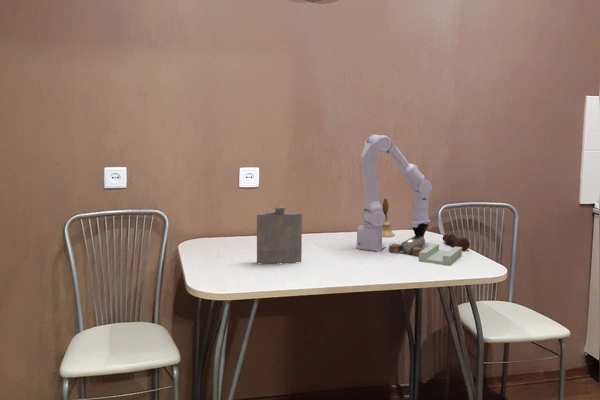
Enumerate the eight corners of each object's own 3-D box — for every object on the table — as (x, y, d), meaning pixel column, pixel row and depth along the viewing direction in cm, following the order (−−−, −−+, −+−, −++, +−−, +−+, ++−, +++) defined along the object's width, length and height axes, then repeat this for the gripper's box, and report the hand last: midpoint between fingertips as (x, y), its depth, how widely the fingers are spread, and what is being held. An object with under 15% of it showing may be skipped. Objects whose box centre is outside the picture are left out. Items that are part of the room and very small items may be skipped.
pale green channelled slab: (418, 260, 206) (419, 252, 205) (432, 251, 220) (432, 243, 219) (449, 265, 200) (450, 256, 200) (461, 255, 214) (462, 247, 213)
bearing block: (388, 252, 218) (389, 245, 218) (392, 250, 221) (392, 243, 221) (421, 256, 212) (421, 250, 211) (424, 254, 215) (425, 248, 215)
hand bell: (389, 238, 242) (391, 200, 239) (371, 235, 246) (373, 199, 243) (397, 234, 249) (398, 198, 246) (379, 232, 253) (381, 196, 250)
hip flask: (300, 260, 205) (301, 205, 202) (302, 263, 201) (303, 207, 198) (256, 262, 202) (256, 206, 199) (257, 265, 198) (257, 208, 195)
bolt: (447, 246, 236) (464, 254, 221) (437, 241, 235) (454, 248, 220) (454, 234, 236) (472, 241, 221) (444, 228, 235) (461, 235, 220)
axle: (411, 256, 214) (414, 243, 213) (399, 252, 217) (401, 239, 215) (423, 248, 226) (426, 236, 225) (411, 245, 228) (413, 233, 227)
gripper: (424, 212, 218) (423, 247, 220) (436, 206, 230) (434, 239, 233) (407, 210, 222) (405, 244, 224) (419, 205, 234) (417, 237, 236)
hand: (419, 242), depth 228 cm, fingers closed
